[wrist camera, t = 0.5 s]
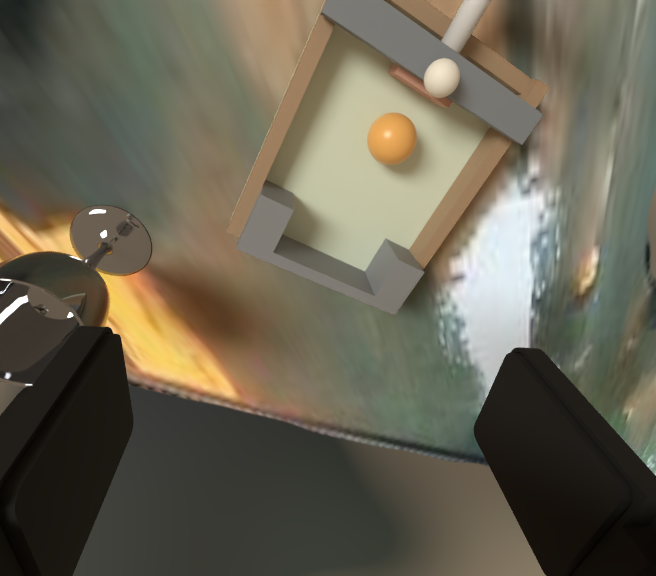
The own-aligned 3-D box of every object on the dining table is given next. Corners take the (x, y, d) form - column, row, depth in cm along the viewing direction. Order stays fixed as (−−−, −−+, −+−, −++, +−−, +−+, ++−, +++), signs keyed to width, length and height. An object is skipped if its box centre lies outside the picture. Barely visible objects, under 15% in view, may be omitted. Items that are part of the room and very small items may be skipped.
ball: (378, 100, 32) (390, 104, 28) (418, 125, 33) (433, 131, 30) (354, 146, 33) (362, 155, 30) (392, 168, 35) (405, 178, 31)
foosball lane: (344, -47, 28) (359, -73, 23) (525, 86, 33) (570, 89, 28) (230, 218, 36) (222, 243, 31) (389, 288, 42) (404, 319, 37)
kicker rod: (398, -171, 24) (472, -323, 15) (592, 2, 30) (735, -30, 20) (313, 28, 29) (327, 8, 19) (495, 145, 34) (574, 174, 25)
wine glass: (129, 189, 34) (35, 262, 21) (170, 266, 38) (113, 368, 25) (45, 214, 35) (-97, 302, 22) (95, 288, 39) (-1, 400, 26)
